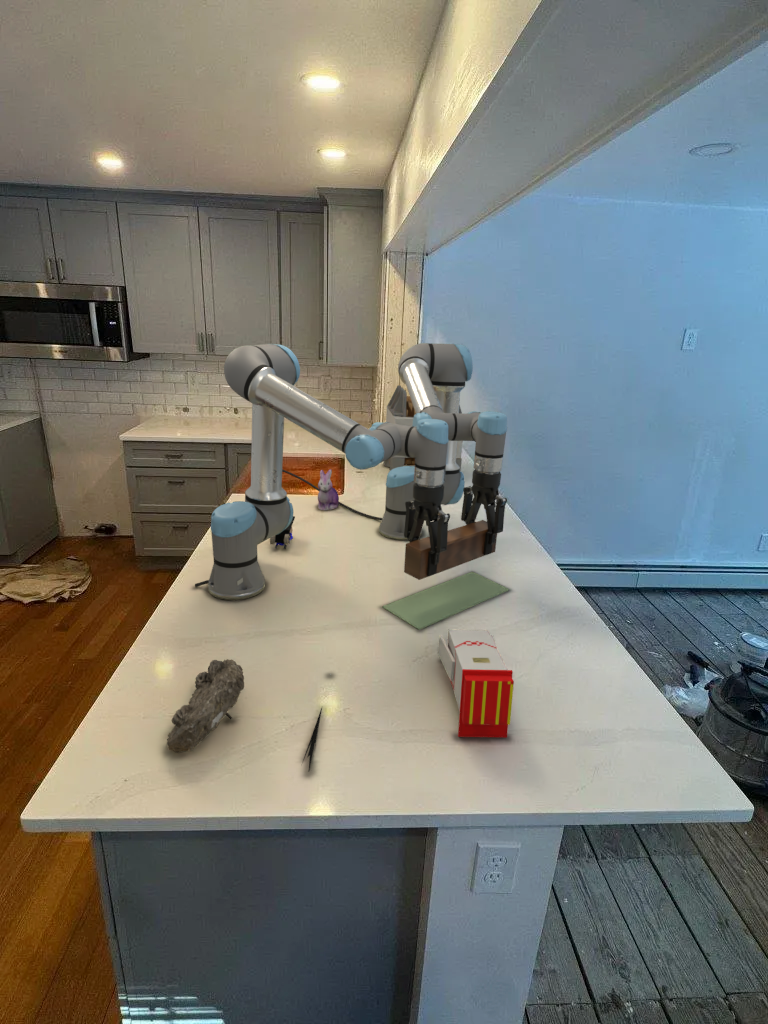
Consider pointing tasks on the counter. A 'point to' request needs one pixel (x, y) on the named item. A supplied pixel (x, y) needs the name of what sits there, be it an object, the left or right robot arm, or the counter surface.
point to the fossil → (206, 705)
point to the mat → (444, 600)
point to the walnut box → (448, 550)
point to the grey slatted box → (403, 414)
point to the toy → (478, 682)
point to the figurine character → (283, 536)
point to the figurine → (327, 492)
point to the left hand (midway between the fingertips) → (422, 569)
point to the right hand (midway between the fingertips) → (478, 550)
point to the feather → (313, 740)
